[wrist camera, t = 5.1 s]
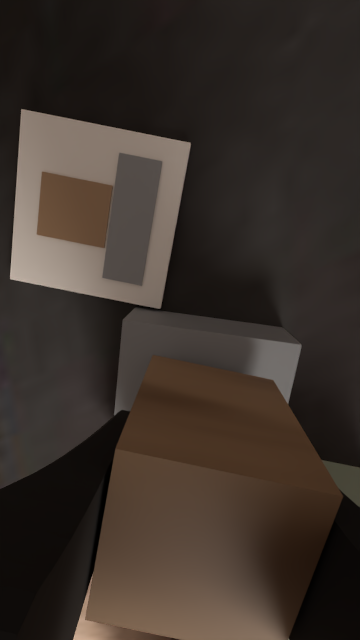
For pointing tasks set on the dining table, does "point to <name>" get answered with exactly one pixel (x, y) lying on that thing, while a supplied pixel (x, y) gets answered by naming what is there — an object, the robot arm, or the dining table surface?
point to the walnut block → (210, 510)
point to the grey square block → (202, 349)
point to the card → (96, 208)
